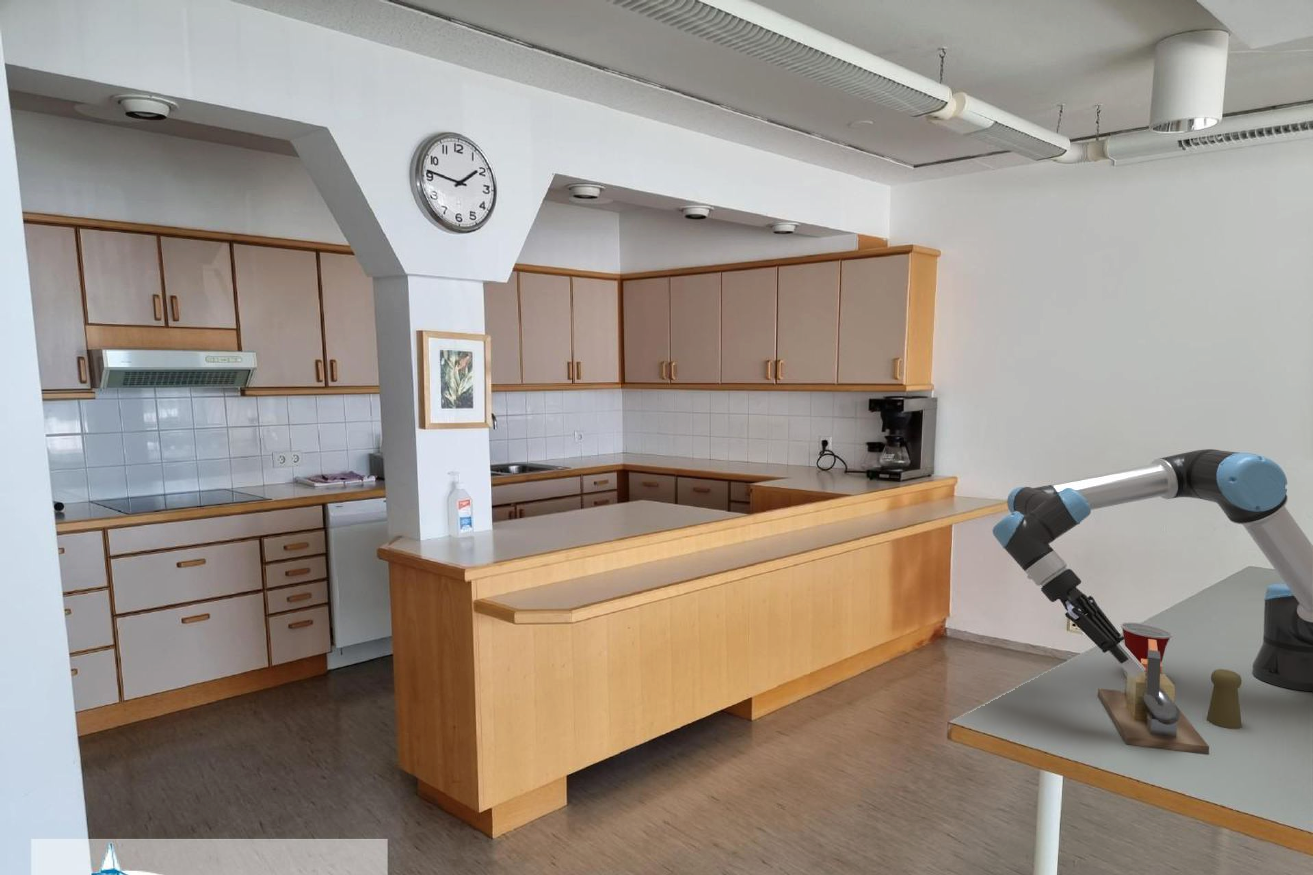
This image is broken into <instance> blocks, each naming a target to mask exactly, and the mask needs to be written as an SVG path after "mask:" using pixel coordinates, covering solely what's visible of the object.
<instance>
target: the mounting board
mask: <svg viewBox="0 0 1313 875" xmlns="http://www.w3.org/2000/svg"><path fill="white" fill-rule="evenodd" d="M1097 689H1098V690H1097V696H1098V698H1099V699H1101V700H1100V701H1101V703H1102V704H1103V706H1104V708H1105V710H1106V711H1107V714H1108V715H1109V716H1110V718H1111V720H1112V721H1113V724H1114V726H1115V727H1116V728H1117V731H1118V732H1119V734H1120V735H1121V737H1122V739H1123V741H1124V743H1125V745H1131V746H1138V747H1146V748H1153V749H1154V748H1156V749H1163V750H1172V751H1181V752H1187V753H1197V754H1204V755H1209V754H1210V753H1209V752H1210V745H1209V744H1208V743H1207V742H1206V741H1205V740H1204V739H1203V737H1202V735H1201V734H1200V733H1199V732H1198V731H1197V729H1196V728H1195V726H1193V724H1192V723H1191V722H1190V720H1189V719H1188V718H1187V717H1186V716H1185V715H1184V713H1183V712H1182V711H1181V709H1180V708H1179V707H1178V706H1177V705H1176V704H1175V702H1174V704H1175V705H1176V707H1177V708H1178V709H1179V712H1180V718H1179V720H1178V721H1177V736H1176V738H1175V737H1166V736H1157V735H1151V734H1150V733H1149V731H1148V730H1147V721H1141V720H1134V718H1133V717H1132V715H1131V714H1130V712H1129V711H1128V709H1127V708H1126V696H1125V690H1116V689H1115V690H1114V689H1104V688H1097Z"/></svg>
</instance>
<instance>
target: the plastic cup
mask: <svg viewBox="0 0 1313 875" xmlns="http://www.w3.org/2000/svg"><path fill="white" fill-rule="evenodd" d="M1120 627H1121V630H1122V633H1123V634H1122V636H1123V637H1124V640H1123V641H1124V645H1125V646H1126V647H1127V648H1128V650H1129V651H1130V652H1131V653H1132V654H1133V655H1134V656H1135V657H1136V659H1137V660H1138V661H1139V662H1140V663H1141V659H1148V639H1153V640H1156V641H1157V649H1158V651H1160V657H1161V664H1162V662H1163V658H1164V655H1165V651H1166V648H1167V646H1168V642H1169V641H1170V639H1171V638H1172V637H1173V633H1172V632H1171V631H1169V630H1166V629H1164V628H1162V627H1160V626H1155V625H1151V624H1148V623H1141V622H1135V621H1134V622H1133V621H1131V622H1130V621H1127V622H1125V621H1123V622H1122V623H1120Z"/></svg>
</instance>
